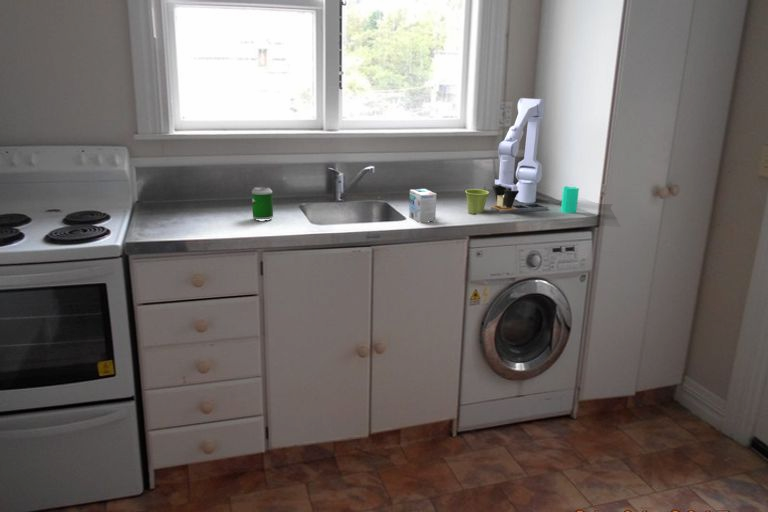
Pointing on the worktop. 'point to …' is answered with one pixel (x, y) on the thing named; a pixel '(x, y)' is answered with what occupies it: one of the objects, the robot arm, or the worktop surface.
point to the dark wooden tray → (520, 208)
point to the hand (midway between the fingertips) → (504, 205)
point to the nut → (501, 202)
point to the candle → (569, 199)
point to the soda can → (262, 203)
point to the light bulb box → (422, 205)
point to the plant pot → (476, 200)
